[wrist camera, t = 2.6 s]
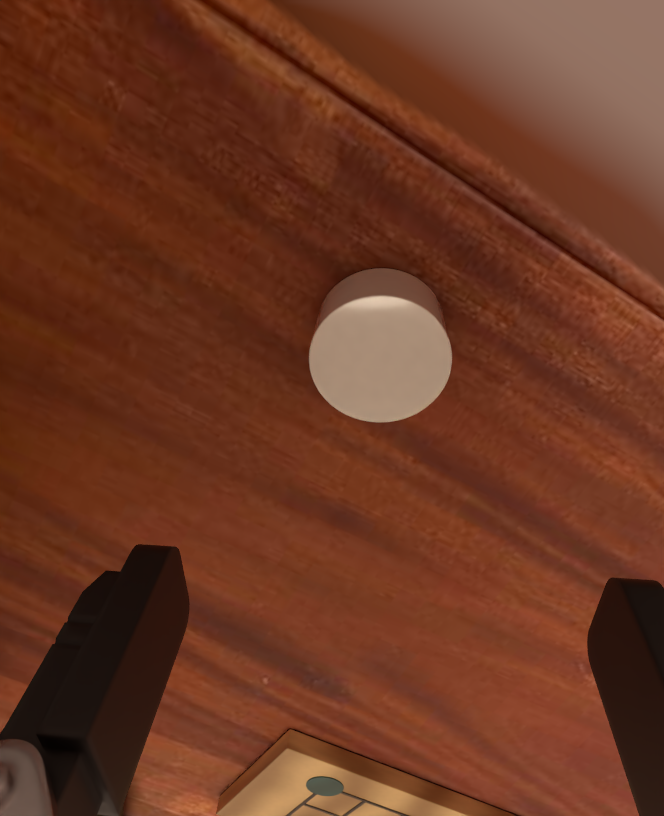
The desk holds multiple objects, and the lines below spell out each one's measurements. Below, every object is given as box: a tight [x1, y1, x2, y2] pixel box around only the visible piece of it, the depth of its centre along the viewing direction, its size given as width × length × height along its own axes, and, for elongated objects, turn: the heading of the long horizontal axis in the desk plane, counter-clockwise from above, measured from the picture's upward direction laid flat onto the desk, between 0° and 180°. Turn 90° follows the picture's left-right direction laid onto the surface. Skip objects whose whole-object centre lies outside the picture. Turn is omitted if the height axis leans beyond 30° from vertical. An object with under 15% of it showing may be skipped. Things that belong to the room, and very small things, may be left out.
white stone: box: [309, 268, 452, 422], centre depth 19 cm, size 5×5×3 cm
